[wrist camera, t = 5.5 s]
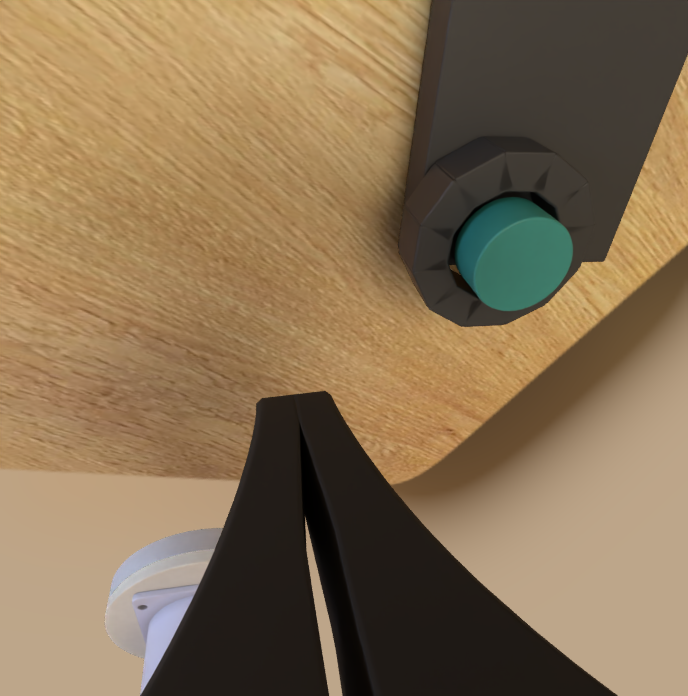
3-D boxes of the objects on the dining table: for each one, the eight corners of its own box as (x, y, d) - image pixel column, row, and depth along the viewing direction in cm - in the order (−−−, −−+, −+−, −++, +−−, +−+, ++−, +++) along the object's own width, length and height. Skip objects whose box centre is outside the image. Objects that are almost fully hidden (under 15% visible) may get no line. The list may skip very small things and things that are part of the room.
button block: (568, 277, 22) (617, 320, 19) (378, 282, 21) (402, 330, 18) (677, -22, 16) (771, -20, 13) (419, -48, 14) (465, -53, 12)
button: (529, 284, 18) (555, 310, 17) (445, 287, 18) (464, 313, 16) (558, 196, 16) (588, 216, 15) (464, 195, 16) (487, 217, 14)
